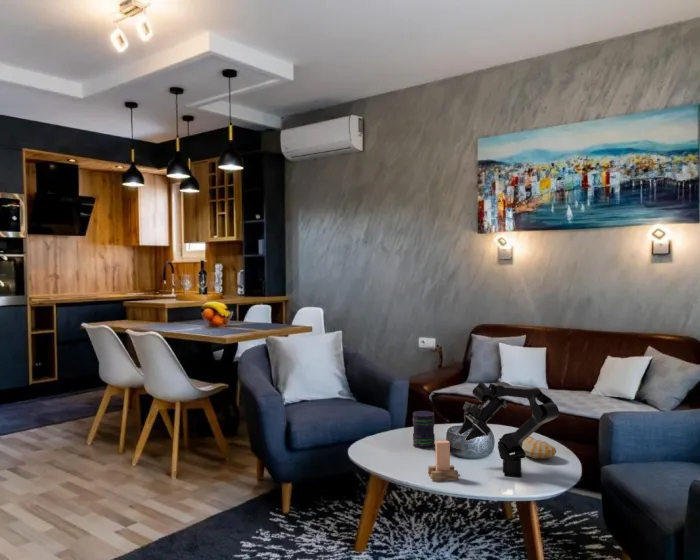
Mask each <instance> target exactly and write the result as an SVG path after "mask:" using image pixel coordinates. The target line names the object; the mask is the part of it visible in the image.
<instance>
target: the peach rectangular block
mask: <svg viewBox="0 0 700 560" xmlns="http://www.w3.org/2000/svg"><path fill="white" fill-rule="evenodd" d="M450 445H451V444H450V441H449V440H435V441H434V447H435V466H436V471H447V470H450V465H451V450H450V449H451V446H450Z"/></svg>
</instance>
